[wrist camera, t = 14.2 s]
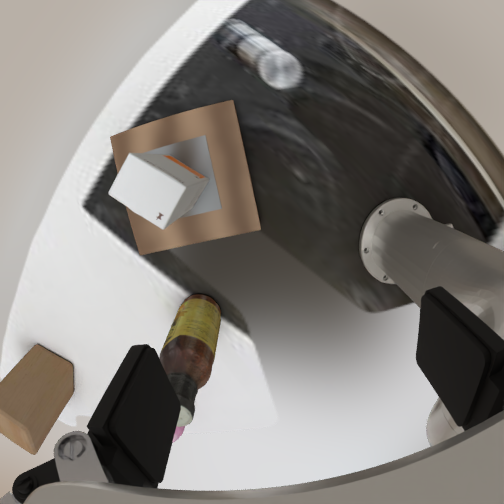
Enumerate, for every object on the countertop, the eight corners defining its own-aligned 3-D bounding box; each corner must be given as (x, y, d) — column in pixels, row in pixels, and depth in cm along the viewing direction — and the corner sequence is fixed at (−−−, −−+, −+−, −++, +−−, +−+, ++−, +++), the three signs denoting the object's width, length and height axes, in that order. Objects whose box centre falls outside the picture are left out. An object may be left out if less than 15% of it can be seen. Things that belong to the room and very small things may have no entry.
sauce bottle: (178, 291, 42) (131, 383, 23) (221, 292, 42) (199, 391, 23) (183, 330, 44) (146, 428, 25) (223, 331, 44) (206, 435, 25)
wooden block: (39, 373, 49) (-5, 430, 30) (36, 341, 46) (-18, 400, 27) (75, 393, 50) (35, 458, 31) (74, 362, 47) (25, 432, 28)
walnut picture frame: (234, 104, 34) (232, 99, 31) (260, 224, 39) (261, 230, 36) (119, 137, 35) (109, 136, 32) (147, 248, 40) (139, 255, 37)
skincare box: (211, 178, 34) (189, 188, 23) (192, 208, 35) (163, 232, 24) (168, 152, 33) (128, 150, 22) (151, 183, 34) (106, 195, 23)
